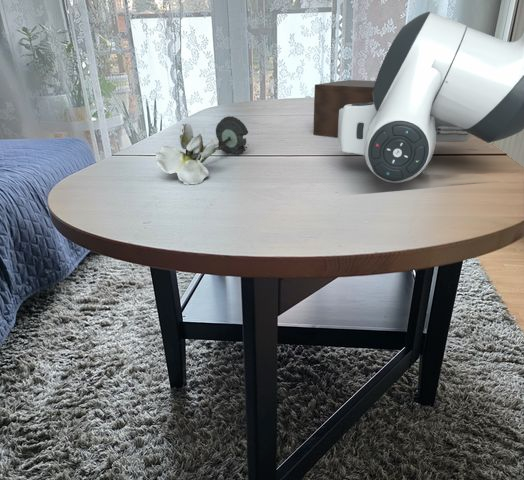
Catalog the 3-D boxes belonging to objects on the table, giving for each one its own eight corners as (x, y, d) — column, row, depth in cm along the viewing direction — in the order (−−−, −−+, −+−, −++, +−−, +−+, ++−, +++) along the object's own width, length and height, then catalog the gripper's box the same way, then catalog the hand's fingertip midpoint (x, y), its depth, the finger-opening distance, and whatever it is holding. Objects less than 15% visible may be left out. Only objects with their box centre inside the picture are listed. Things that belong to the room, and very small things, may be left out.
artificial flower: (258, 163, 92) (268, 106, 85) (191, 211, 77) (196, 147, 70) (216, 146, 94) (222, 89, 87) (142, 190, 78) (142, 125, 71)
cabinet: (403, 132, 108) (409, 82, 103) (372, 141, 100) (377, 87, 95) (345, 127, 117) (348, 79, 112) (313, 134, 109) (314, 84, 104)
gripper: (485, 106, 67) (476, 95, 79) (332, 105, 72) (345, 95, 84) (475, 156, 71) (468, 138, 82) (330, 151, 76) (342, 136, 87)
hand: (405, 116), depth 83 cm, fingers closed on soda can, 5 cm apart
